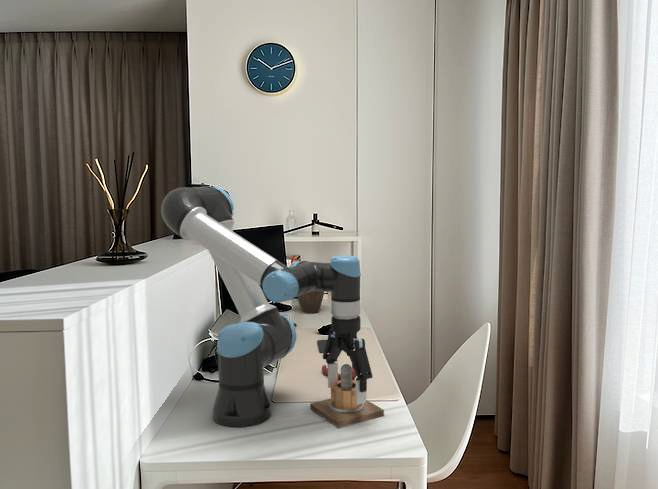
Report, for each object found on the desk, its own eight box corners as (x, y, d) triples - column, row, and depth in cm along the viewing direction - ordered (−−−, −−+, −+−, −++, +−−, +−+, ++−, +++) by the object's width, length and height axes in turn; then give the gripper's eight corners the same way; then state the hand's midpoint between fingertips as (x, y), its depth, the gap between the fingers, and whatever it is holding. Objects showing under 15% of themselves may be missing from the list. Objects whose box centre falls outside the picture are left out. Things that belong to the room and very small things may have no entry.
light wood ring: (341, 412, 148) (341, 393, 148) (325, 401, 155) (325, 383, 155) (368, 405, 153) (368, 387, 152) (351, 395, 160) (351, 377, 159)
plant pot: (289, 314, 262) (288, 279, 260) (300, 307, 276) (299, 273, 274) (320, 316, 258) (320, 280, 256) (330, 309, 272) (330, 275, 270)
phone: (319, 352, 205) (316, 339, 220) (319, 354, 205) (316, 342, 220) (340, 351, 206) (336, 339, 220) (340, 354, 206) (336, 341, 220)
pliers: (330, 394, 168) (330, 385, 168) (320, 371, 188) (320, 363, 187) (369, 392, 169) (369, 383, 169) (356, 370, 189) (356, 362, 189)
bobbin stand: (338, 427, 145) (337, 377, 143) (310, 408, 157) (309, 361, 155) (383, 415, 152) (383, 366, 150) (354, 398, 164) (353, 353, 162)
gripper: (386, 323, 142) (386, 407, 145) (333, 304, 164) (333, 378, 166) (360, 328, 139) (361, 414, 141) (309, 308, 160) (310, 383, 162)
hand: (346, 394), depth 154 cm, fingers open, 13 cm apart
